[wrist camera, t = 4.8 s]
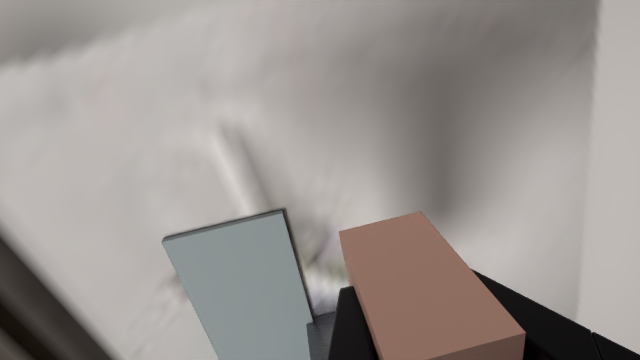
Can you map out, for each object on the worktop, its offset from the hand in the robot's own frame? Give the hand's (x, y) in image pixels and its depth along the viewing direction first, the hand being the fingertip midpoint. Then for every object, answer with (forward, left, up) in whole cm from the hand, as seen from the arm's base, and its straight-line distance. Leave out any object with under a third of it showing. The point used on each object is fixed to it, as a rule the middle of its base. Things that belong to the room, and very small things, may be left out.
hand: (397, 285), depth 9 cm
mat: (-9, +7, -10) cm, 15 cm away
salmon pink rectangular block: (-4, 0, -1) cm, 4 cm away
